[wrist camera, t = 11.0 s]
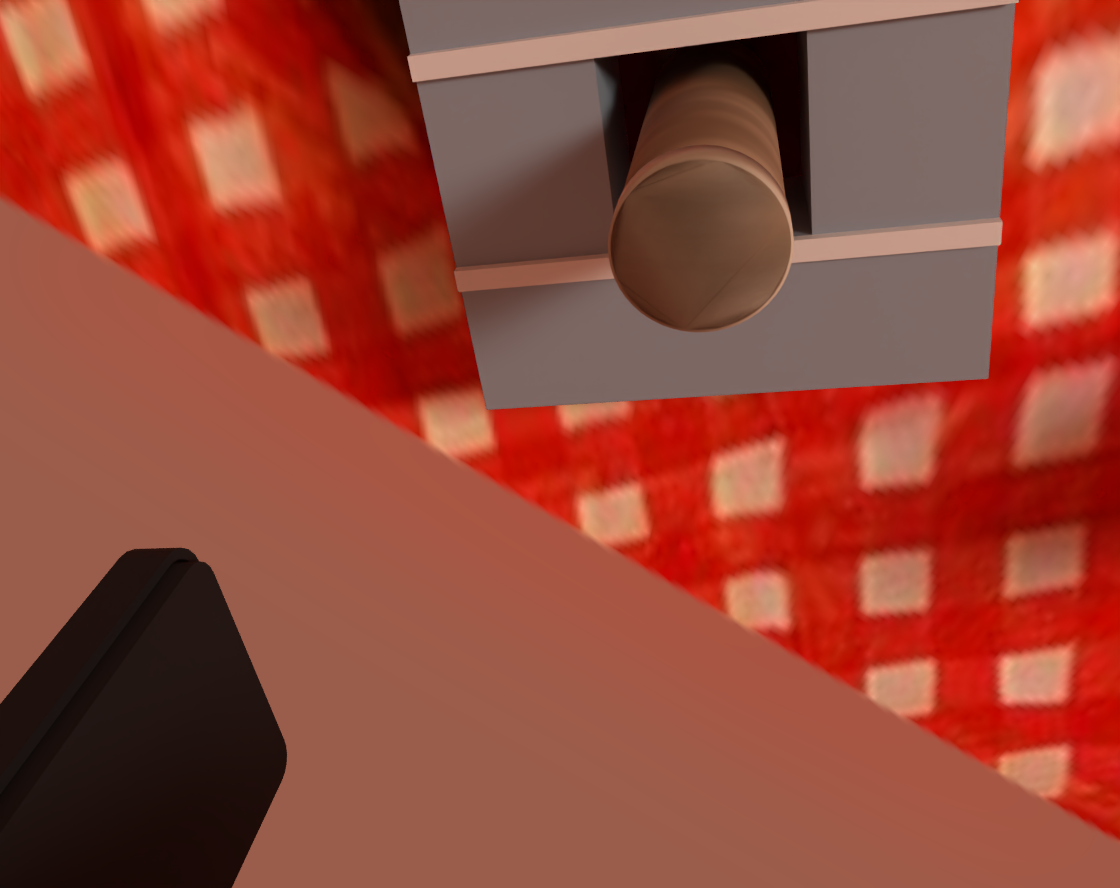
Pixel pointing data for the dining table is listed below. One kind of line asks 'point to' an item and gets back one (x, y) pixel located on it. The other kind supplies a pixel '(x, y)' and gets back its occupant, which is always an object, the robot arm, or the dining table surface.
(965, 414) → the dining table surface
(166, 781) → the robot arm
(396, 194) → the dining table surface
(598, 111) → the socket block
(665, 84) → the walnut peg
